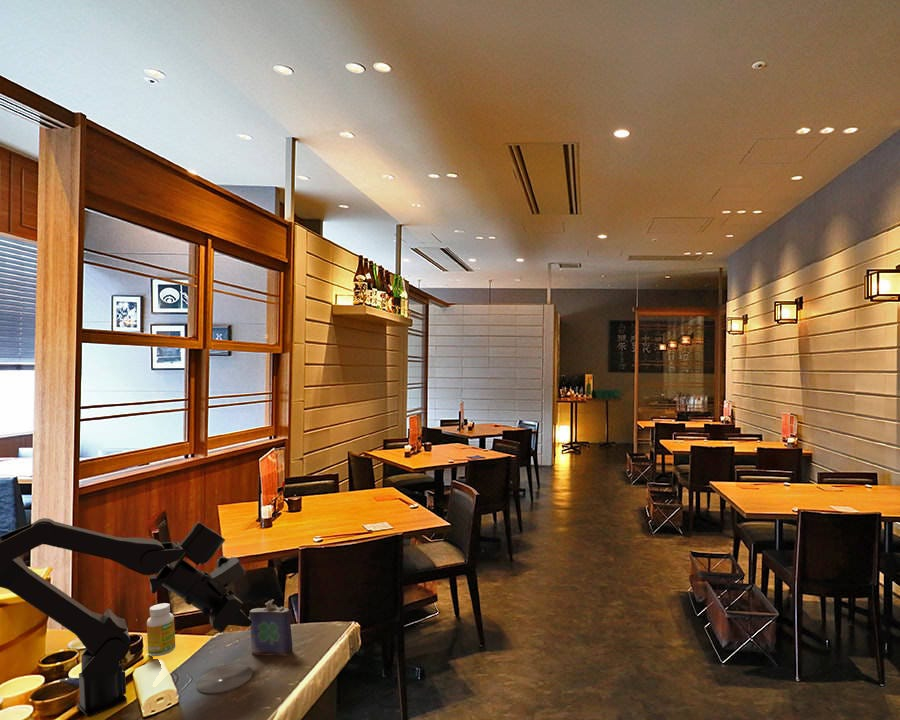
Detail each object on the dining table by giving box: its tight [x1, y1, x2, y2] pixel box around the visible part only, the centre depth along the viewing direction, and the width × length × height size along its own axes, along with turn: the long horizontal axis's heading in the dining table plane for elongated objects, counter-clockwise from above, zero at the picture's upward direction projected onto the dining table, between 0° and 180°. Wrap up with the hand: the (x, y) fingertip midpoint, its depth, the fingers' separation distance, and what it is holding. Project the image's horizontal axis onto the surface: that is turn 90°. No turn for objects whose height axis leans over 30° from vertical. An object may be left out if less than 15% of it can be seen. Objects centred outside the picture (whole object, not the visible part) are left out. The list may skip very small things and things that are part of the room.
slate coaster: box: [196, 663, 253, 695], centre depth 113 cm, size 10×10×1 cm
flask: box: [248, 599, 294, 656], centre depth 124 cm, size 9×3×11 cm, turn 78°
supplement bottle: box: [146, 602, 176, 657], centre depth 129 cm, size 5×5×10 cm
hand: (250, 624), depth 122 cm, fingers closed
